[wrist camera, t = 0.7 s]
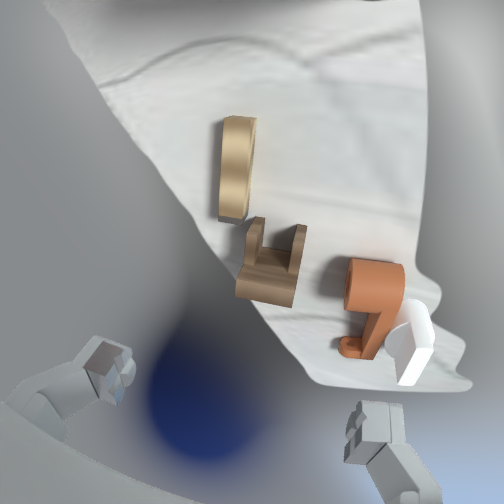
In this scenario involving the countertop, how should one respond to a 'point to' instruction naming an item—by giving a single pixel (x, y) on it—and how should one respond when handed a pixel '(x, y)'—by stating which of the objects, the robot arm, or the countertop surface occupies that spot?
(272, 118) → the countertop surface
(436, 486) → the robot arm
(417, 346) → the white piece
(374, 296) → the crank
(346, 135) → the countertop surface
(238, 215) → the rail
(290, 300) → the wooden u-shaped bracket
